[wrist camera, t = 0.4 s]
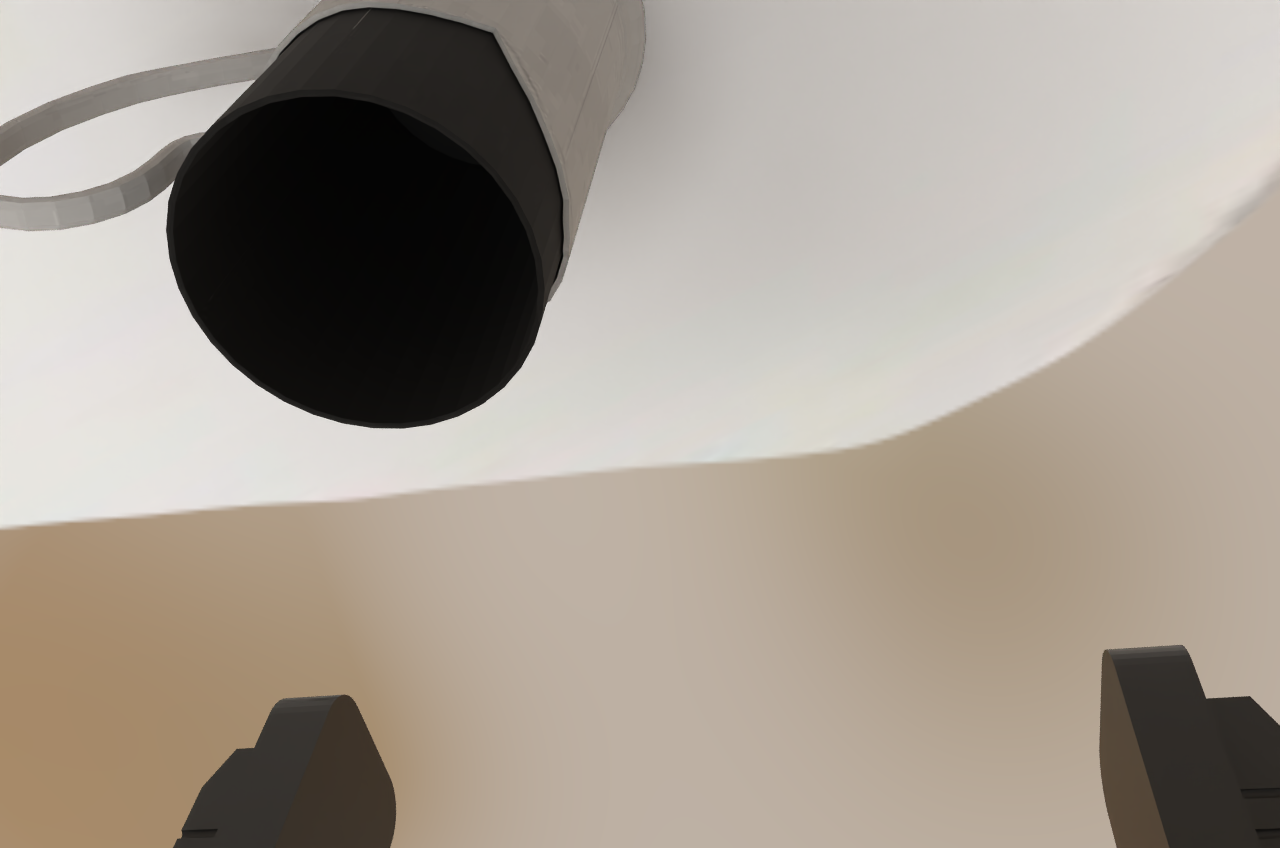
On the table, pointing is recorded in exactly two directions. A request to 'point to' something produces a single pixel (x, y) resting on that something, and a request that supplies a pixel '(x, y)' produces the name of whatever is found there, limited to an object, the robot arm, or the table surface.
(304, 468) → the table surface
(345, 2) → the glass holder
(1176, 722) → the robot arm
